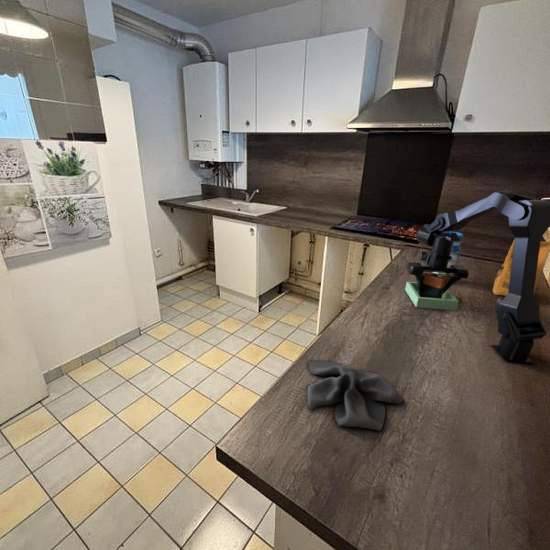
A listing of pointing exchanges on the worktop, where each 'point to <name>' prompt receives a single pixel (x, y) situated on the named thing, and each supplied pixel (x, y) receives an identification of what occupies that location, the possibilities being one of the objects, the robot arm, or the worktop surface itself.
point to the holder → (431, 299)
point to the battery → (433, 285)
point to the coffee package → (505, 271)
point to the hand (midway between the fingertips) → (431, 292)
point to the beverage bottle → (454, 251)
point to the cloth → (352, 394)
